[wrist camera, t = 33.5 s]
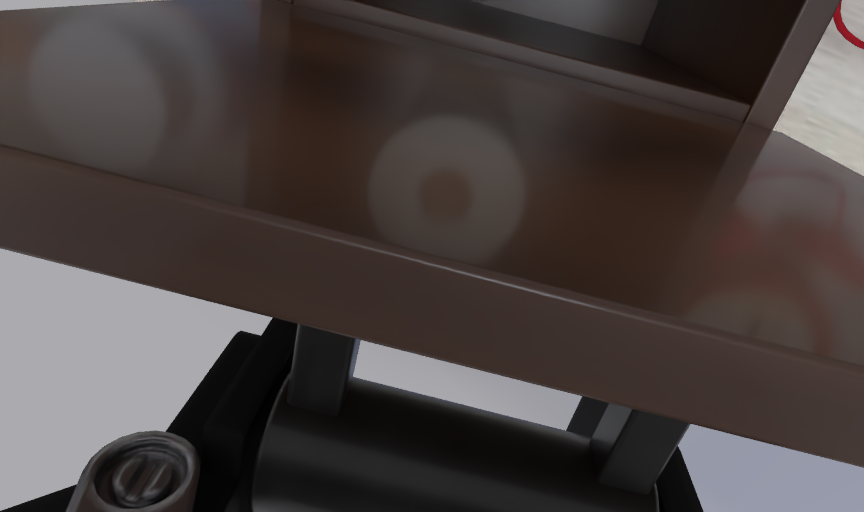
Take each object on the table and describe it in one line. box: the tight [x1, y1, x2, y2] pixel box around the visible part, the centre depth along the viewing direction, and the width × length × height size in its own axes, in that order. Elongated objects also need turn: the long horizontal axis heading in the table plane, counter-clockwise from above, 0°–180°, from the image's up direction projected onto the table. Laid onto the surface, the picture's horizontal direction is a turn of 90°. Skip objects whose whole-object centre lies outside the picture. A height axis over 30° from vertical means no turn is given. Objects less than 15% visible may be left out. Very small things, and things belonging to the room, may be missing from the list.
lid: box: [0, 0, 864, 512], centre depth 10 cm, size 12×14×5 cm
